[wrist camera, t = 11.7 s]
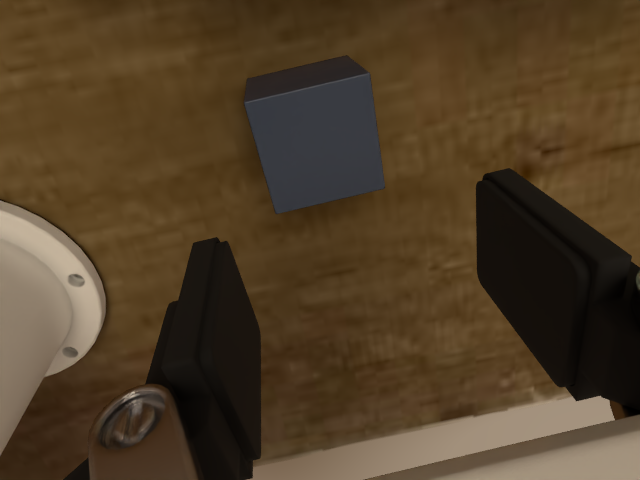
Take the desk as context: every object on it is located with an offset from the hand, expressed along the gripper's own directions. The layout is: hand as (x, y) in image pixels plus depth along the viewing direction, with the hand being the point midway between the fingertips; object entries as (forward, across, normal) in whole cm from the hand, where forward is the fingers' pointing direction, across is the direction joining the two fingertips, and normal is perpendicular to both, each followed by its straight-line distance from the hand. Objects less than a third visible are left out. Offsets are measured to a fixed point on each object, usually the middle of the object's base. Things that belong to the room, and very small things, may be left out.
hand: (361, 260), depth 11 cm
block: (+14, 0, 0) cm, 14 cm away
